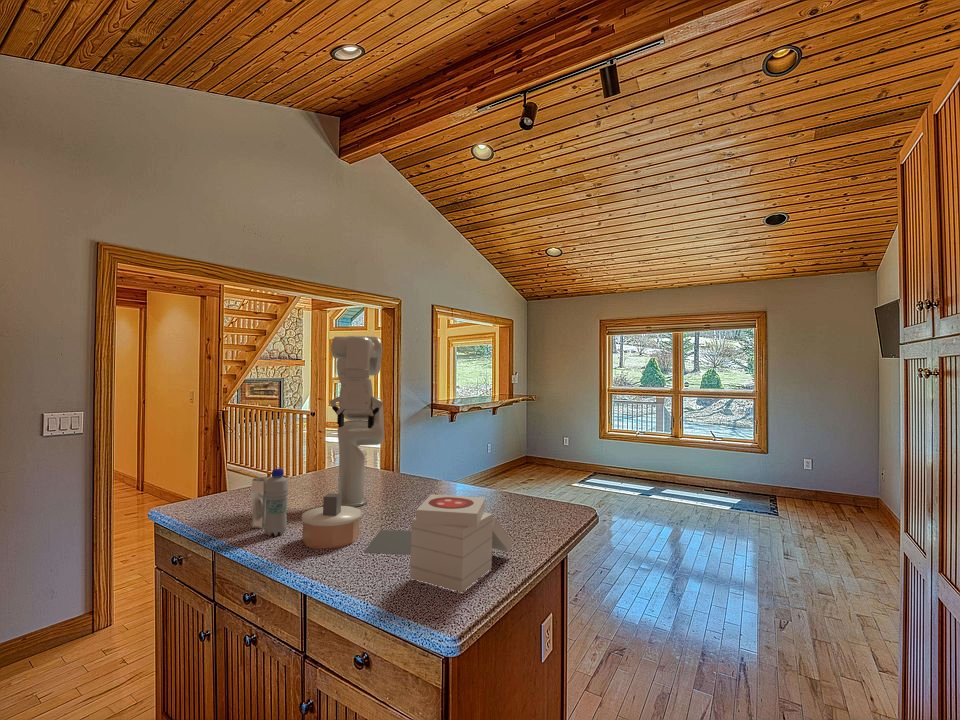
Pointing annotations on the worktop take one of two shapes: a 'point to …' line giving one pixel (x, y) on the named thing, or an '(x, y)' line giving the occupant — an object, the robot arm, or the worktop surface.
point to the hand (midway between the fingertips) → (355, 427)
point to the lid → (331, 513)
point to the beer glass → (258, 501)
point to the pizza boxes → (454, 541)
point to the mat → (391, 542)
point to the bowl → (330, 535)
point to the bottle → (276, 503)
